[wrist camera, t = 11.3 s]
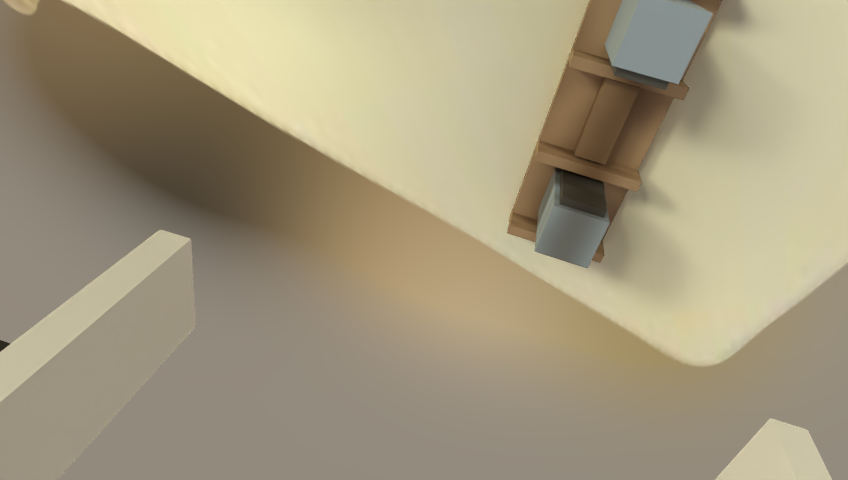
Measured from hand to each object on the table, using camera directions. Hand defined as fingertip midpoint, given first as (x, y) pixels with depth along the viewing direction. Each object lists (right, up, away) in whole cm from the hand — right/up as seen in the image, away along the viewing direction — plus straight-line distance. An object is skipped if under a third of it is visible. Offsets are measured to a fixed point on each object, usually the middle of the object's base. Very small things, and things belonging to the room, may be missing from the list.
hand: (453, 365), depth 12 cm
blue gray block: (+14, +18, +24) cm, 33 cm away
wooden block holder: (+13, +13, +28) cm, 34 cm away
